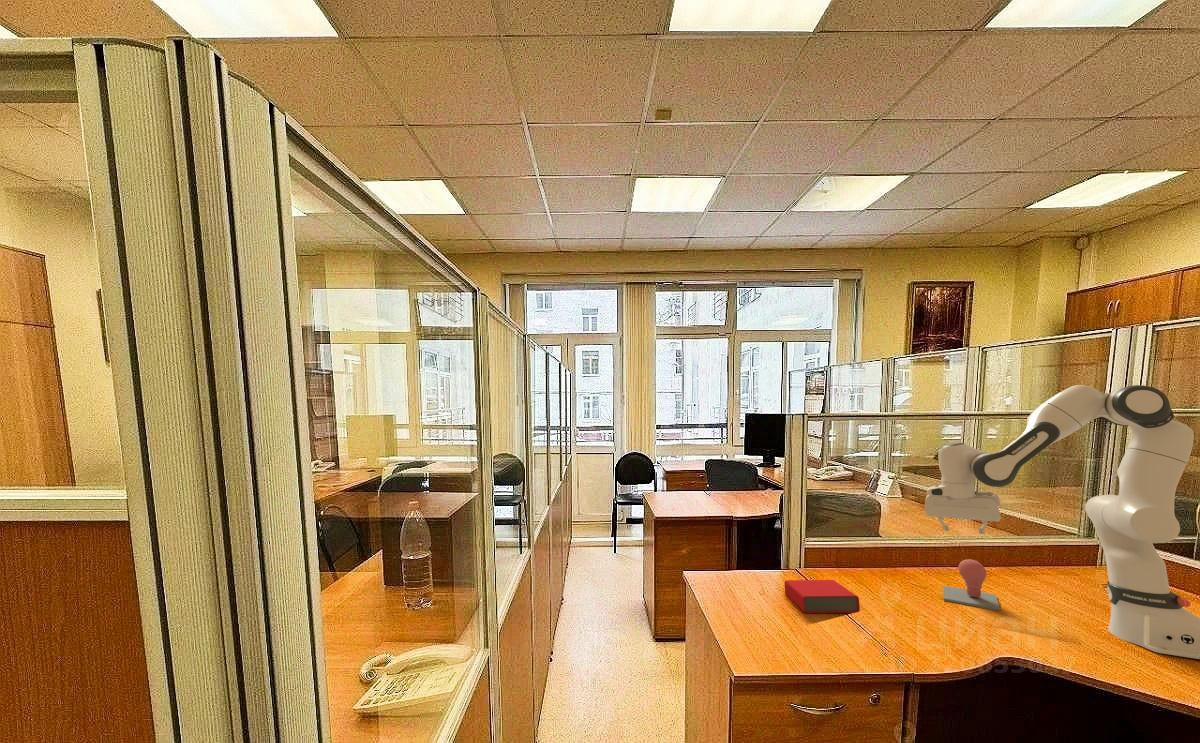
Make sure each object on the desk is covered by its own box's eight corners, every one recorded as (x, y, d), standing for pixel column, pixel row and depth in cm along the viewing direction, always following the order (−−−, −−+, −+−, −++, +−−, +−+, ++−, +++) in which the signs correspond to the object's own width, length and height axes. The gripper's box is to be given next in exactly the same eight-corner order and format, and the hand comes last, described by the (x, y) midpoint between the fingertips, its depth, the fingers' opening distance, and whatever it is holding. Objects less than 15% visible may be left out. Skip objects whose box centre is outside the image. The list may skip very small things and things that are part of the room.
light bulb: (995, 601, 142) (990, 562, 144) (973, 601, 143) (968, 563, 144) (977, 593, 149) (972, 556, 151) (956, 593, 150) (951, 556, 151)
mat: (995, 597, 148) (995, 594, 148) (1000, 611, 137) (1000, 608, 137) (943, 587, 156) (943, 585, 157) (943, 600, 146) (943, 598, 146)
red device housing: (836, 594, 152) (835, 579, 153) (860, 612, 138) (858, 595, 139) (785, 595, 152) (784, 580, 153) (803, 612, 138) (802, 596, 139)
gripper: (997, 491, 147) (1003, 533, 145) (922, 487, 160) (927, 526, 158) (999, 493, 142) (1005, 537, 140) (922, 490, 155) (926, 530, 153)
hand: (963, 532), depth 149 cm, fingers open, 8 cm apart
